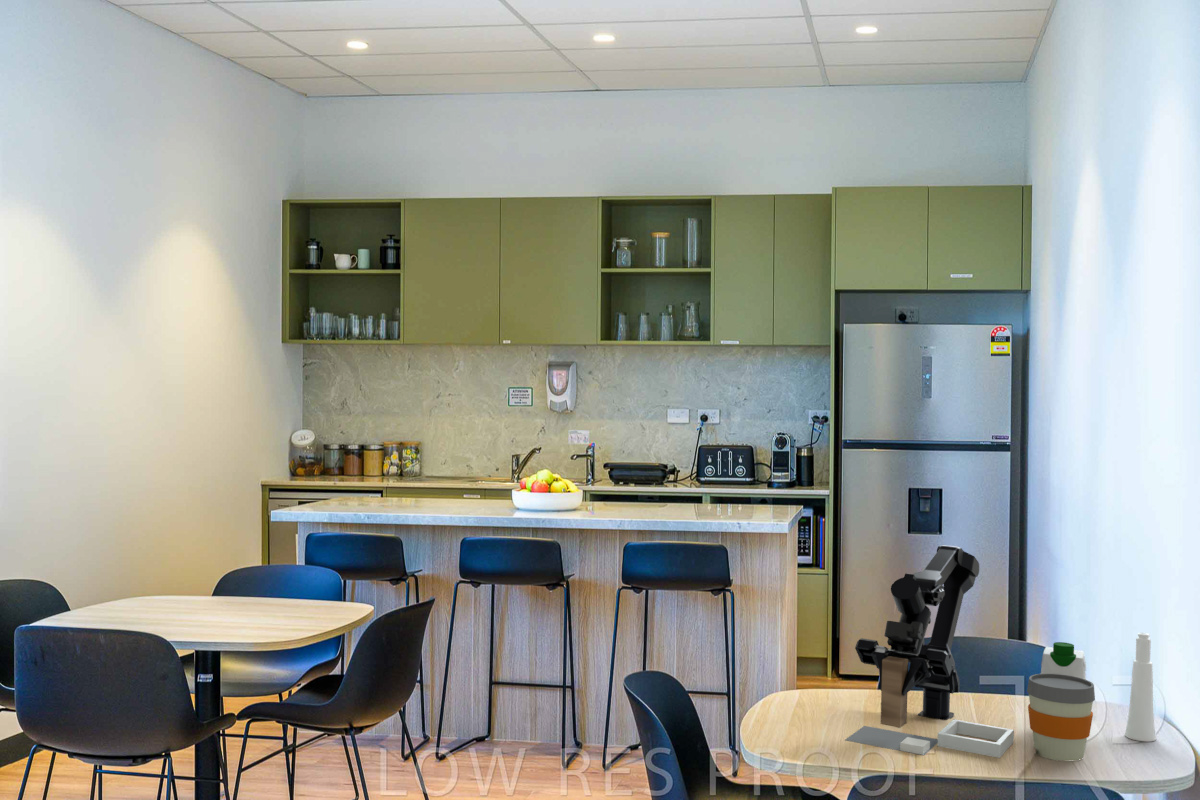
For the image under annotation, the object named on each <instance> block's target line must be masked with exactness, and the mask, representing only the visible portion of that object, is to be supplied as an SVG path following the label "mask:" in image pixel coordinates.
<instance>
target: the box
mask: <svg viewBox="0 0 1200 800" xmlns="http://www.w3.org/2000/svg"><path fill="white" fill-rule="evenodd" d="M1014 733H1015V730H1014V729H1012V728H1006V727H1000V726H994V725H988V724H983V723H977V722H971V721H966V720H962V719H961V720H959V719H955V718H954V719H953V720H951V721H950V722H949V723H948V724H947V725H946V726H945V727H944V728H942V729H941V730H940V731H939V732H938V733H937V739H938V743H937V744H936V745H937V747H940V748H945V749H950V750H956V751H962V752H967V753H972V754H977V755H982V756H987V757H988V756H989V757H993V758H999V759H1000V758H1001V757H1003V755H1004V753H1005V752H1006V751H1008V749H1009V748H1010V747H1011V746H1013V744H1014V743H1015V742H1014V741H1015V740H1014V736H1015V735H1014ZM962 735H963V736H962ZM969 736H970V738H968V737H969ZM974 738H978V739H974ZM980 739H985V740H988V741H985V740H980ZM989 740H990V741H989ZM991 740H992V741H991ZM995 741H996V742H995Z"/></svg>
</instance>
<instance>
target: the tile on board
mask: <svg viewBox="0 0 1200 800" xmlns="http://www.w3.org/2000/svg"><path fill="white" fill-rule="evenodd" d="M929 749H930V741H926V740H921V739H915V738H910V737H907V738H906V739H904V740H903V741H902V742H901V743H900V750H901V751H900V752H903V751H906V752H905V753H908V752H912V753H911V754H913V753H917V754H916V755H918V754H922V755H921V756H924V755H923V754H925V753H926V752H927V751H928V750H929ZM927 753H928V752H927ZM927 753H926V754H927ZM926 754H925V755H926Z"/></svg>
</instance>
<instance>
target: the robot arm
mask: <svg viewBox="0 0 1200 800" xmlns="http://www.w3.org/2000/svg"><path fill="white" fill-rule="evenodd" d="M979 573H980V563H979V560H977V557H976V556H974V555H972V554H970V553H968V552H966V551H964V550H963V548H961V547H959V546H955V545H946V544H942V545H939V546H937V547H936V552H935V554H934V555H933V557H932V558H931V560H930V561H929V562H928V564H927V565H926V566H925V568H924V569H923V570H922V571H917V572H914V573H907V572H906V573H904V577H901V578H898V579H896V580H895V581H894V582H893V583H892V584H891V586H890V591H891V595H892V598H893V601H894V603H895V606H896V608H897V611H898V612H899V613H901V615H900V618H899V621H893V620H886V625H885V629H884V635H883V636H884V637H885V638H887V645H888V646H890V648H888V647H886V646H883V645H879V643H878V640H875V639H869V638H863V637H862V638H859V639H858V640H856V643H855V648H854V649H855V651H856V654H857V655H858V658H859V661H860V662H861V663H863V664H864V665H870V666H875V667H876V668H877V670H878V673H879V687H880V688H879V689H880V691H881V689H882V660H883V659H885V658H887V657H888V656H892V657H898V658H904V659H908V664H909V667H908V674H907V676H906V679H905V682H904V684H903V688H902V695H903V696H905V695H906V694H907V695H908V693H909V692H910V691H911V690H912V689H913V688H920V689H922V692H923V693H922V710H921V711H920V712H918V713H917V716H919V717H923V718H930V719H936V720H941V721H948V720H949V719H952V718H953V717H954V716H955V712H951V711H950V705H951V695H952V694H955V693H956V694H957V693H960V678H959V674H958V672H957V669H956V662H955V660H954V657H953V653H952V652H951V651H952V646H953V641H954V638H955V633H956V630H957V629H956V628H957V625H958V620H959V616H960V612H961V611H960V610H961V607H962V603H963V599H964V595H965V594H966V593H967V592H968V591H969V590H970V589H972V588H973V587H974V584H975V581H976V578H978V576H979ZM928 606H931V607H937V606H938V607H937V612H936V615H935V619H934V625H933V628H932V631H931V637H930V640H929V642H928V643H927V644H925V643H926V641H925V637H926V633H927V631H928V630H927V629H928V626H929V624H931V622H932V621H931V619H932V618H931V616H932V611H931V609H930V608H929V607H928Z"/></svg>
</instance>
